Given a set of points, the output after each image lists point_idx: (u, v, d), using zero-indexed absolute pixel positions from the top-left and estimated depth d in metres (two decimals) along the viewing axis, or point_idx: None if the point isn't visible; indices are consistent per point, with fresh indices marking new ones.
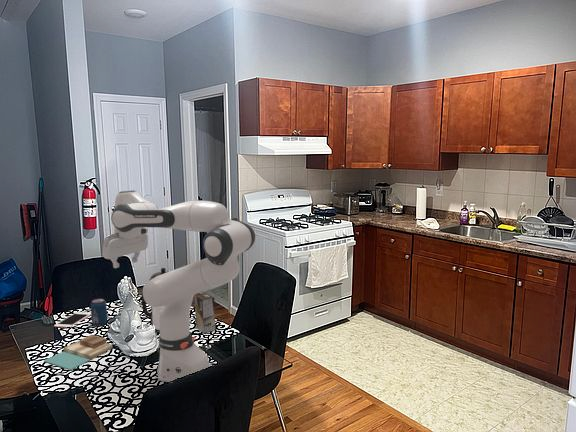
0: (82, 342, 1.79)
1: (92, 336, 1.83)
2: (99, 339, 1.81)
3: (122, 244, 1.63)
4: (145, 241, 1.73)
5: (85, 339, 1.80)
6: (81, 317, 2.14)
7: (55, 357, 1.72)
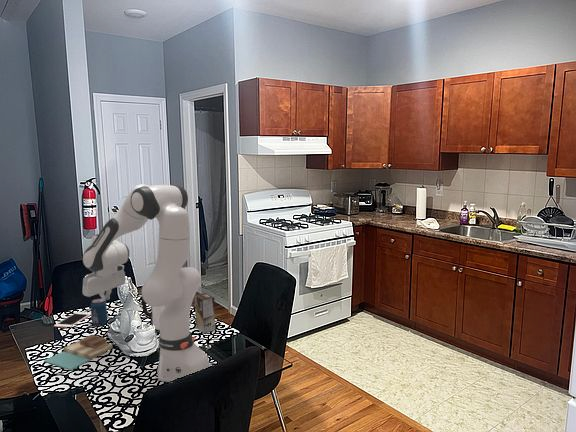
0: (82, 342, 1.79)
1: (92, 336, 1.83)
2: (99, 339, 1.81)
3: (100, 282, 1.81)
4: (122, 277, 1.91)
5: (85, 339, 1.80)
6: (81, 317, 2.14)
7: (55, 357, 1.72)
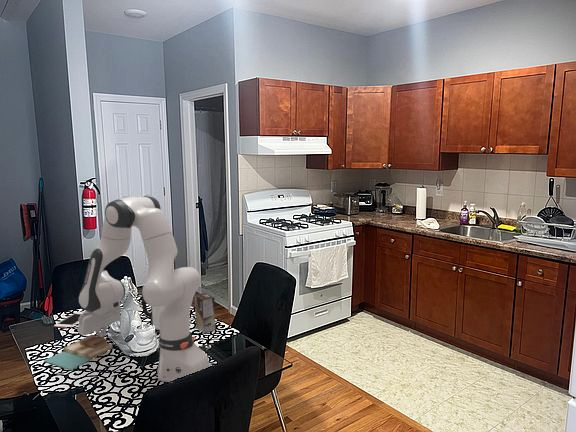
0: (82, 342, 1.79)
1: (92, 336, 1.83)
2: (99, 339, 1.81)
3: (96, 319, 1.80)
4: (119, 312, 1.90)
5: (85, 339, 1.80)
6: None
7: (55, 357, 1.72)
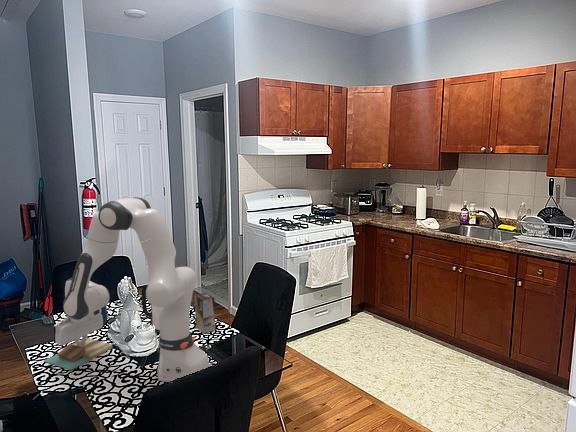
0: (60, 355, 1.71)
1: (70, 347, 1.74)
2: (78, 349, 1.72)
3: (75, 328, 1.71)
4: (100, 320, 1.81)
5: (63, 352, 1.72)
6: None
7: (55, 357, 1.72)
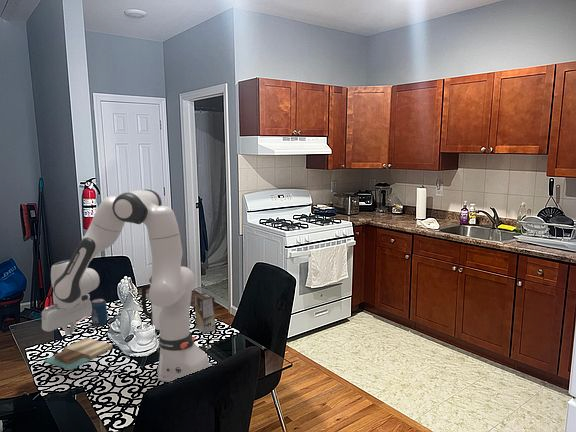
0: (57, 357, 1.70)
1: (68, 351, 1.73)
2: (75, 353, 1.71)
3: (62, 314, 1.65)
4: (89, 307, 1.75)
5: (60, 354, 1.70)
6: None
7: None
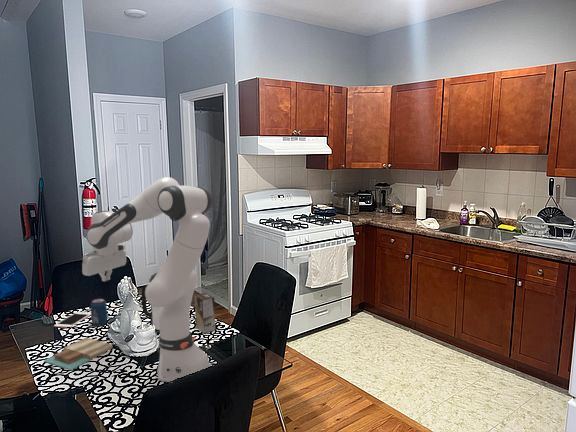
0: (57, 357, 1.70)
1: (68, 351, 1.73)
2: (75, 353, 1.71)
3: (101, 261, 1.75)
4: (123, 257, 1.86)
5: (60, 354, 1.70)
6: (81, 317, 2.14)
7: None
